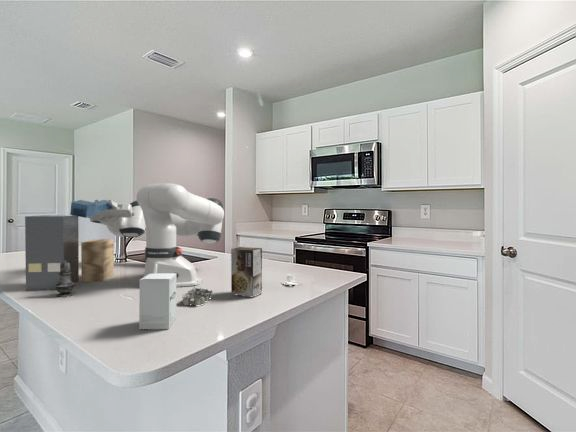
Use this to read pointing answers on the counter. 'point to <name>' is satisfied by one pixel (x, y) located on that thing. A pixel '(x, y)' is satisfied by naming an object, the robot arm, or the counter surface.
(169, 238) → the robot arm
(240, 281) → the coffee box
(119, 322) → the counter surface
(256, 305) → the counter surface
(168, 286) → the supplement box
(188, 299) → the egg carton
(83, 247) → the wooden log section
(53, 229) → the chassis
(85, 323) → the counter surface
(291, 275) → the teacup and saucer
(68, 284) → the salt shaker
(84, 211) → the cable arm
